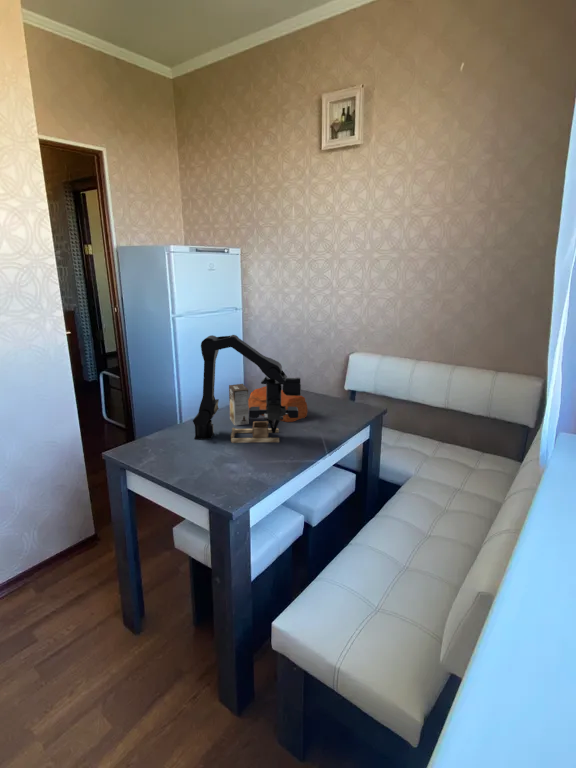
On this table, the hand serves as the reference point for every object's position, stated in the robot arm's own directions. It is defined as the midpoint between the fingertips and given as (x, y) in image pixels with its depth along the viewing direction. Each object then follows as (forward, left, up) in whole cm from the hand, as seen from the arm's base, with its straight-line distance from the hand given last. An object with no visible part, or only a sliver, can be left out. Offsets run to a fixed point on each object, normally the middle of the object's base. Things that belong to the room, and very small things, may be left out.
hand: (273, 432), depth 164 cm
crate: (-5, 0, -2) cm, 5 cm away
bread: (+2, +28, -3) cm, 29 cm away
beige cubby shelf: (-6, 0, -2) cm, 7 cm away
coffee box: (-14, +17, -3) cm, 22 cm away
